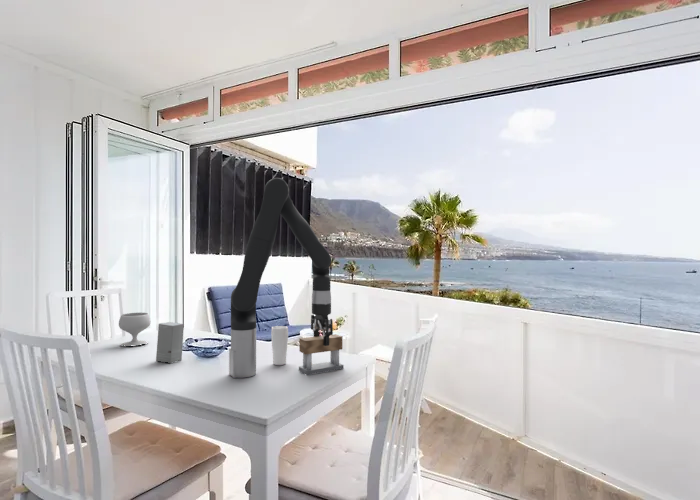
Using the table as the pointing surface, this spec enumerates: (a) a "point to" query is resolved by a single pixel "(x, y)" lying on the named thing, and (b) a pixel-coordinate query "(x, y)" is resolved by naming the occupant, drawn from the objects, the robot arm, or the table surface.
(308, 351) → the brown rectangular block
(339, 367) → the peg stand
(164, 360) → the skincare box
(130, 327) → the chalice
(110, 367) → the table surface
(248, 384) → the table surface
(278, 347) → the drinking glass
